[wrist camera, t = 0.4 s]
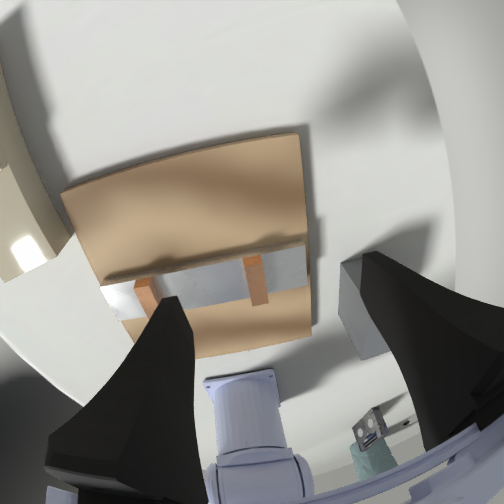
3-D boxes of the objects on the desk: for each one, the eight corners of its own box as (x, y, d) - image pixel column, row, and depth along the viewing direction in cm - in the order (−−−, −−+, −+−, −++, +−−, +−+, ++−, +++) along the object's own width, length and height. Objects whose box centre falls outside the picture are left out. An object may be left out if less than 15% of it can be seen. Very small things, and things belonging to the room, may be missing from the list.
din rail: (303, 277, 22) (311, 293, 20) (121, 312, 21) (116, 329, 20) (301, 238, 20) (309, 253, 18) (103, 278, 20) (95, 295, 18)
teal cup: (340, 452, 56) (353, 491, 45) (357, 437, 50) (373, 480, 40) (373, 443, 57) (386, 479, 47) (392, 427, 52) (408, 466, 42)
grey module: (374, 303, 26) (401, 346, 21) (337, 313, 26) (361, 360, 21) (381, 251, 23) (417, 294, 18) (340, 261, 23) (371, 309, 18)
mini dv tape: (358, 426, 46) (367, 450, 41) (351, 427, 46) (360, 452, 41) (378, 406, 42) (389, 432, 37) (371, 407, 42) (382, 434, 36)
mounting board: (308, 328, 27) (311, 335, 26) (149, 357, 26) (149, 365, 25) (294, 132, 17) (298, 134, 16) (65, 189, 17) (59, 193, 16)
